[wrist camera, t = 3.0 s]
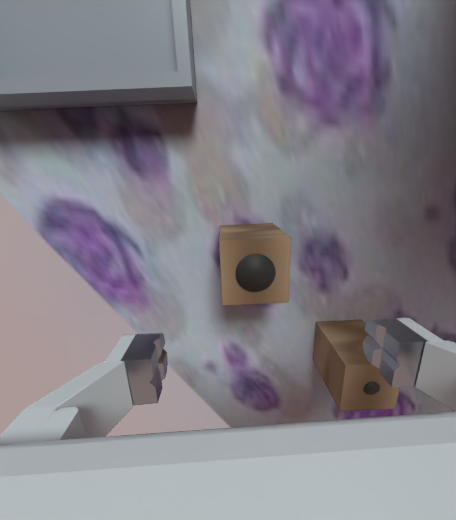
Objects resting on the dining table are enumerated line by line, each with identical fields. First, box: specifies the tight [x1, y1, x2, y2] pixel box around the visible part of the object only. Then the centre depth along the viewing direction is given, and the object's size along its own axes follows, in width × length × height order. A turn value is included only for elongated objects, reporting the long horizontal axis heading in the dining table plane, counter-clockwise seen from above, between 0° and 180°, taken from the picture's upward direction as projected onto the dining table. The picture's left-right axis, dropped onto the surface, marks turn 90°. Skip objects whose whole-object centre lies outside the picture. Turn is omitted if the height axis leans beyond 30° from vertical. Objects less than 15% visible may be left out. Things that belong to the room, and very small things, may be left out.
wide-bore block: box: [219, 223, 291, 305], centre depth 18 cm, size 4×4×6 cm
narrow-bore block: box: [313, 320, 400, 411], centre depth 21 cm, size 4×4×6 cm
